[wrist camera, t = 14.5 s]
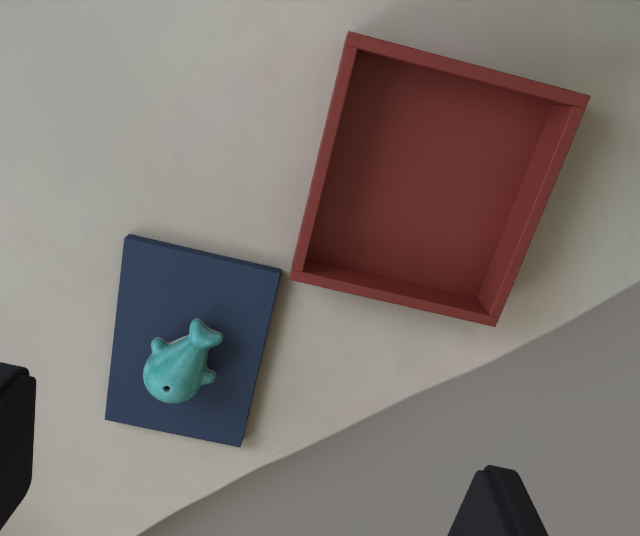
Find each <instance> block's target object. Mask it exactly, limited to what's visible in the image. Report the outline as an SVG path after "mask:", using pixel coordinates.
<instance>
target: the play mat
mask: <svg viewBox="0 0 640 536" xmlns="http://www.w3.org/2000/svg"><path fill="white" fill-rule="evenodd" d="M280 275H281V269H277V268H273V267H269V266H264V265H260V264H256V263H251V262H247V261H243V260H238V259H234V258H230V257H225V256H221V255H217V254H212V253H208V252H204V251H199V250H195V249H191V248H187V247H182V246H178V245H174V244H169V243H165V242H161V241H156V240H152V239H148V238H143V237H139V236H135V235H130V234H129V235H128V236H126V237H125V238H124V246H123V256H122V265H121V274H120V284H119V293H118V302H117V311H116V321H115V330H114V339H113V348H112V358H111V367H110V376H109V385H108V395H107V404H106V413H105V420H109V421H114V422H119V423H124V424H128V425H133V426H138V427H143V428H148V429H153V430H158V431H163V432H167V433H172V434H177V435H182V436H187V437H192V438H197V439H202V440H207V441H211V442H216V443H221V444H226V445H231V446H236V447H241V443H242V439H243V435H244V431H245V426H246V422H247V418H248V413H249V409H250V405H251V400H252V396H253V392H254V387H255V383H256V379H257V374H258V370H259V366H260V361H261V357H262V353H263V348H264V344H265V340H266V335H267V331H268V327H269V322H270V318H271V314H272V309H273V305H274V301H275V296H276V292H277V288H278V283H279V279H280ZM197 318H198V319H201V320H202V321H203V323H204V324H205V325H206V326H207V327H209V328H210V329H212V330H214V331H217V332H220V333H222V335H223V340H222V342H221V343H220V344H219V345H217V346H214V347H212V348H210V349H209V350H208V358H207V364H206V366H207V368H208V369H210V370H213V371H214V372H215V373H216V379H215V381H214V382H212V383H210V384H206V385H202V386H201V387H200V388H199V390H198V392H197V393H196V394H195V395H194V396H193V397H191V398H190V399H188V400H186V401H184V402H181V403H165V402H162V401H160V400H158V399H156V398H155V397H153V396H152V395H151V394H150V393H149V391H148V390H147V388H146V386H145V383H144V379H143V370H144V366H145V363H146V361H147V359H148V358H149V357H150V355H151V354H152V349H151V343H152V341H153V340H154V339H155V338H157V337H160V338H163V339H164V340H165V341H166V342H168V343H170V342H173V341H175V340H177V339H179V338H182V337H184V336H187V335H189V329H190V324H191V322H192V321H193V320H194V319H197Z"/></svg>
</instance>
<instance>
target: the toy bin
mask: <svg viewBox="0 0 640 536" xmlns="http://www.w3.org/2000/svg"><path fill="white" fill-rule="evenodd" d="M589 99H590V96H589V95H586V94H582V93H578V92H574V91H571V90H567V89H563V88H559V87H556V86H552V85H548V84H544V83H541V82H537V81H533V80H529V79H526V78H522V77H518V76H515V75H511V74H507V73H503V72H500V71H496V70H492V69H488V68H485V67H481V66H477V65H473V64H470V63H466V62H462V61H458V60H455V59H451V58H447V57H444V56H440V55H436V54H432V53H429V52H425V51H421V50H417V49H414V48H410V47H406V46H402V45H399V44H395V43H391V42H387V41H384V40H380V39H376V38H373V37H369V36H365V35H361V34H358V33H354V32H350V31H349V32H348V34H347V36H346V40H345V44H344V48H343V52H342V57H341V61H340V65H339V69H338V73H337V78H336V82H335V86H334V90H333V94H332V99H331V103H330V107H329V111H328V115H327V120H326V124H325V128H324V132H323V136H322V141H321V145H320V149H319V153H318V157H317V162H316V166H315V170H314V174H313V178H312V183H311V187H310V191H309V195H308V200H307V204H306V208H305V212H304V216H303V221H302V225H301V229H300V233H299V237H298V242H297V246H296V250H295V254H294V258H293V263H292V268H291V273H290V278H289V279H290V280H293V281H298V282H302V283H306V284H311V285H315V286H320V287H324V288H328V289H333V290H337V291H341V292H346V293H350V294H354V295H359V296H363V297H367V298H372V299H376V300H380V301H385V302H389V303H393V304H398V305H402V306H406V307H411V308H415V309H419V310H424V311H428V312H433V313H437V314H441V315H446V316H450V317H454V318H459V319H463V320H467V321H472V322H476V323H480V324H485V325H489V326H493V327H496V324H497V322H498V320H499V317H500V315H501V312H502V310H503V308H504V305H505V303H506V300H507V298H508V295H509V293H510V291H511V288H512V286H513V283H514V281H515V278H516V276H517V274H518V271H519V269H520V266H521V264H522V261H523V259H524V257H525V254H526V252H527V249H528V247H529V244H530V242H531V240H532V237H533V235H534V232H535V230H536V227H537V225H538V223H539V220H540V218H541V215H542V213H543V210H544V208H545V206H546V203H547V201H548V198H549V196H550V193H551V191H552V189H553V186H554V184H555V181H556V179H557V177H558V174H559V172H560V169H561V167H562V164H563V162H564V160H565V157H566V155H567V152H568V150H569V147H570V145H571V143H572V140H573V138H574V135H575V133H576V130H577V128H578V126H579V123H580V121H581V118H582V116H583V113H584V111H585V108H586V106H587V104H588V101H589Z"/></svg>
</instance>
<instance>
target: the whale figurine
mask: <svg viewBox="0 0 640 536" xmlns="http://www.w3.org/2000/svg"><path fill="white" fill-rule="evenodd" d="M222 340H223V335H222V333H220V332H217V331H214V330H212V329H210V328H209V327H207V326H206V325H205V324H204V323H203V321H202V320H201V319H198V318H197V319H194V320H193V321H192V322H191V324H190V329H189V335H187V336H184V337H182V338H179V339H177V340H175V341H173V342H170V343H168V342H166V341H165V340H164V339H163V338H160V337H157V338H155V339H154V340H153V341H152V343H151V349H152V354H151V355H150V357H149V358H148V359H147V361H146V363H145V366H144V370H143V379H144V383H145V386H146V388H147V390H148V391H149V393H150V394H151V395H152V396H153V397H155V398H156V399H158V400H160V401H162V402H165V403H181V402H184V401H186V400H188V399H190V398H191V397H193V396H194V395H195V394H196V393H197V392H198V390H199V388H200V387H201V386H202V385H206V384H210V383H212V382H214V381H215V379H216V373H215V372H214V371H213V370H210V369H208V368H207V366H206V364H207V358H208V350H209V349H210V348H212V347H214V346H217V345H219V344H220V343H221V342H222Z"/></svg>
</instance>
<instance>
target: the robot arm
mask: <svg viewBox="0 0 640 536" xmlns="http://www.w3.org/2000/svg"><path fill="white" fill-rule="evenodd" d="M35 400H36V379H35V378H34V377H31V376H29V371H28V369H27V368H25V367H20V366H15V365H11V364H6V363H1V362H0V530H1V529H2V527H3V526H4V525H5V523H6V522H7V520H8V519H9V518H10V516H11V515H12V514H13V512H14V511H15V509H16V508H17V507H18V505H19V504H20V503H21V501H22V500H23V498H24V497H25V495H26V493H27V491H28V489H29V487H30V484H31V479H32V463H33V442H34V421H35ZM448 536H548V534H547V532H546V530H545V528H544V525H543V523H542V521H541V519H540V517H539V515H538V513H537V511H536V509H535V507H534V505H533V503H532V501H531V499H530V496H529V494H528V493H527V490H526V488H525V486H524V484H523V482H522V480H521V478H520V476H519V475H518V473H517V472H516V471H515V470H511V469H506V468H502V467H497V466H492V465H488V466H487V467H485V468H484V470H483V471H481V470H479V471H477V472H476V474H475V476H474V478H473V480H472V482H471V485H470V486H469V489H468V491H467V493H466V496H465V498H464V500H463V503H462V504H461V507H460V509H459V511H458V513H457V516H456V518H455V520H454V522H453V524H452V527H451V529H450V531H449V534H448Z"/></svg>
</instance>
